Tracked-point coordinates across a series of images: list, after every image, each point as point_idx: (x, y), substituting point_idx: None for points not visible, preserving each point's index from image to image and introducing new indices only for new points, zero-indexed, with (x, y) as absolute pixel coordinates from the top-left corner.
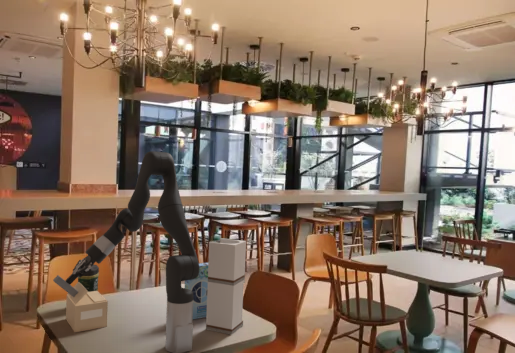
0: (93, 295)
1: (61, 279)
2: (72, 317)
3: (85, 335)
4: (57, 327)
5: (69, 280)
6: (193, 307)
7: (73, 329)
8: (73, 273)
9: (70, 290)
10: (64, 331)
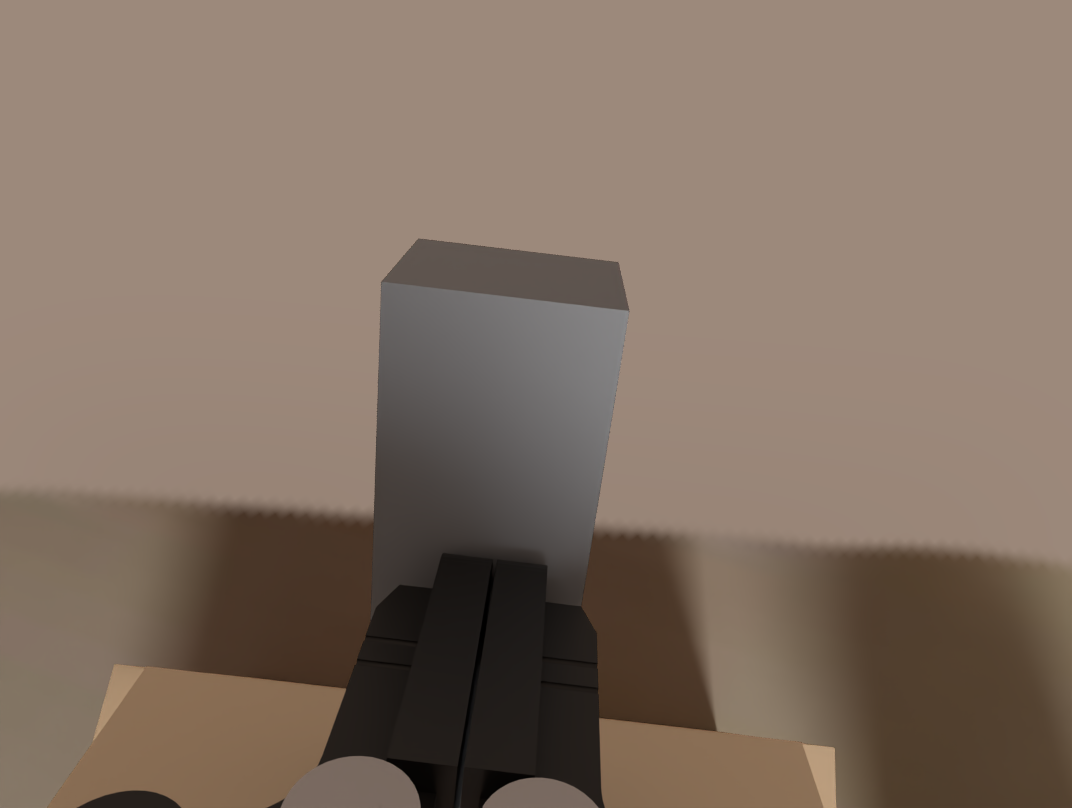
0: None
1: (380, 376)
2: None
3: (81, 750)
4: None
5: (374, 618)
6: None
7: (302, 683)
8: (380, 773)
9: None
10: (350, 597)
